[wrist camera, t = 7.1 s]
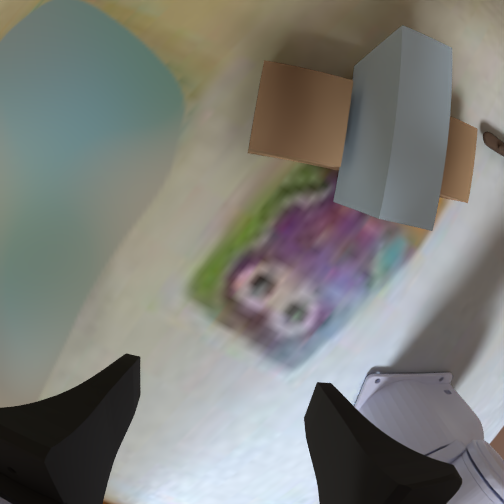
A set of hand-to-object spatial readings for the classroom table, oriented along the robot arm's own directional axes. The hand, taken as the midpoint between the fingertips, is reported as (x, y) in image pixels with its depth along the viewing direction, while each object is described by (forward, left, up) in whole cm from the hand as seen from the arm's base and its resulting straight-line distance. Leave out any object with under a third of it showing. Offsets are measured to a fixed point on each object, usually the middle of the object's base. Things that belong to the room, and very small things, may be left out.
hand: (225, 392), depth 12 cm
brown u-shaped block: (-6, -12, -10) cm, 17 cm away
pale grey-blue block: (-6, -12, -9) cm, 16 cm away
